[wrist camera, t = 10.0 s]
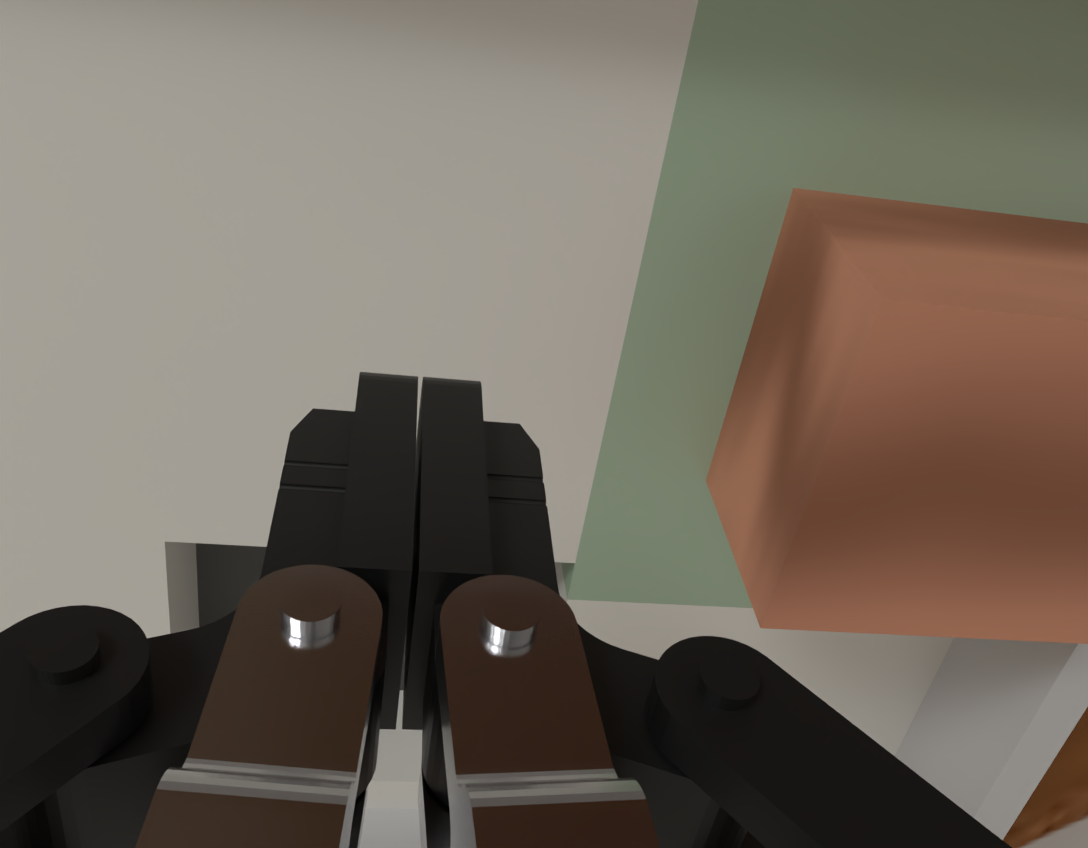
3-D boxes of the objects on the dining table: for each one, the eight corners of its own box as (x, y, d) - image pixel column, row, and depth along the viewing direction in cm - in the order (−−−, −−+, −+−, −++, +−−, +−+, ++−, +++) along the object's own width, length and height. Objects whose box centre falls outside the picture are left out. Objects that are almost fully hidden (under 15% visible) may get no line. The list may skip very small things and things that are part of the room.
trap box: (-1199, -505, 13) (-2245, -655, 8) (1238, -84, 18) (1544, -14, 13) (-495, 713, 25) (-729, 962, 20) (850, 747, 30) (933, 948, 25)
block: (793, 187, 17) (881, 299, 14) (1120, 227, 18) (1277, 341, 15) (705, 480, 20) (760, 627, 17) (987, 500, 21) (1091, 643, 18)
